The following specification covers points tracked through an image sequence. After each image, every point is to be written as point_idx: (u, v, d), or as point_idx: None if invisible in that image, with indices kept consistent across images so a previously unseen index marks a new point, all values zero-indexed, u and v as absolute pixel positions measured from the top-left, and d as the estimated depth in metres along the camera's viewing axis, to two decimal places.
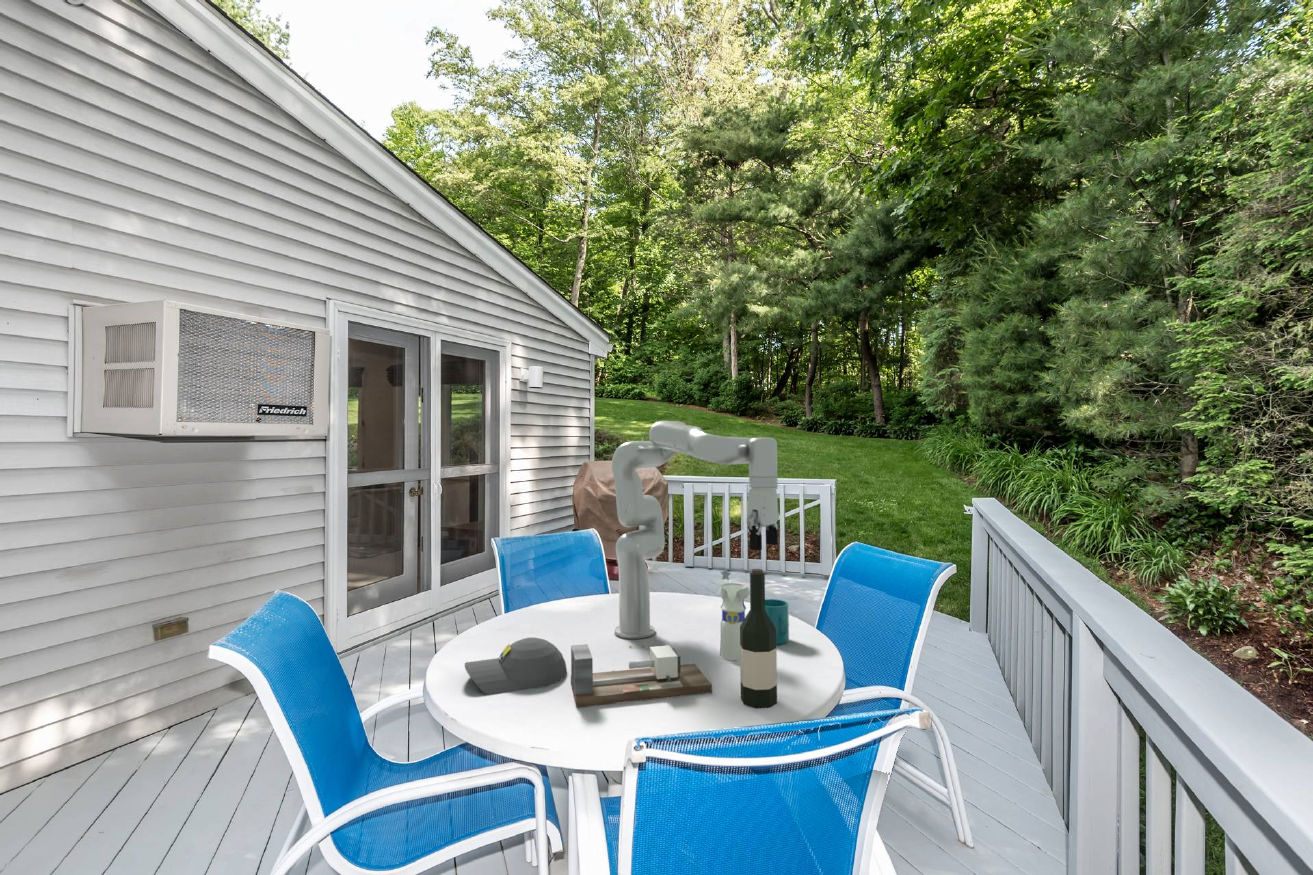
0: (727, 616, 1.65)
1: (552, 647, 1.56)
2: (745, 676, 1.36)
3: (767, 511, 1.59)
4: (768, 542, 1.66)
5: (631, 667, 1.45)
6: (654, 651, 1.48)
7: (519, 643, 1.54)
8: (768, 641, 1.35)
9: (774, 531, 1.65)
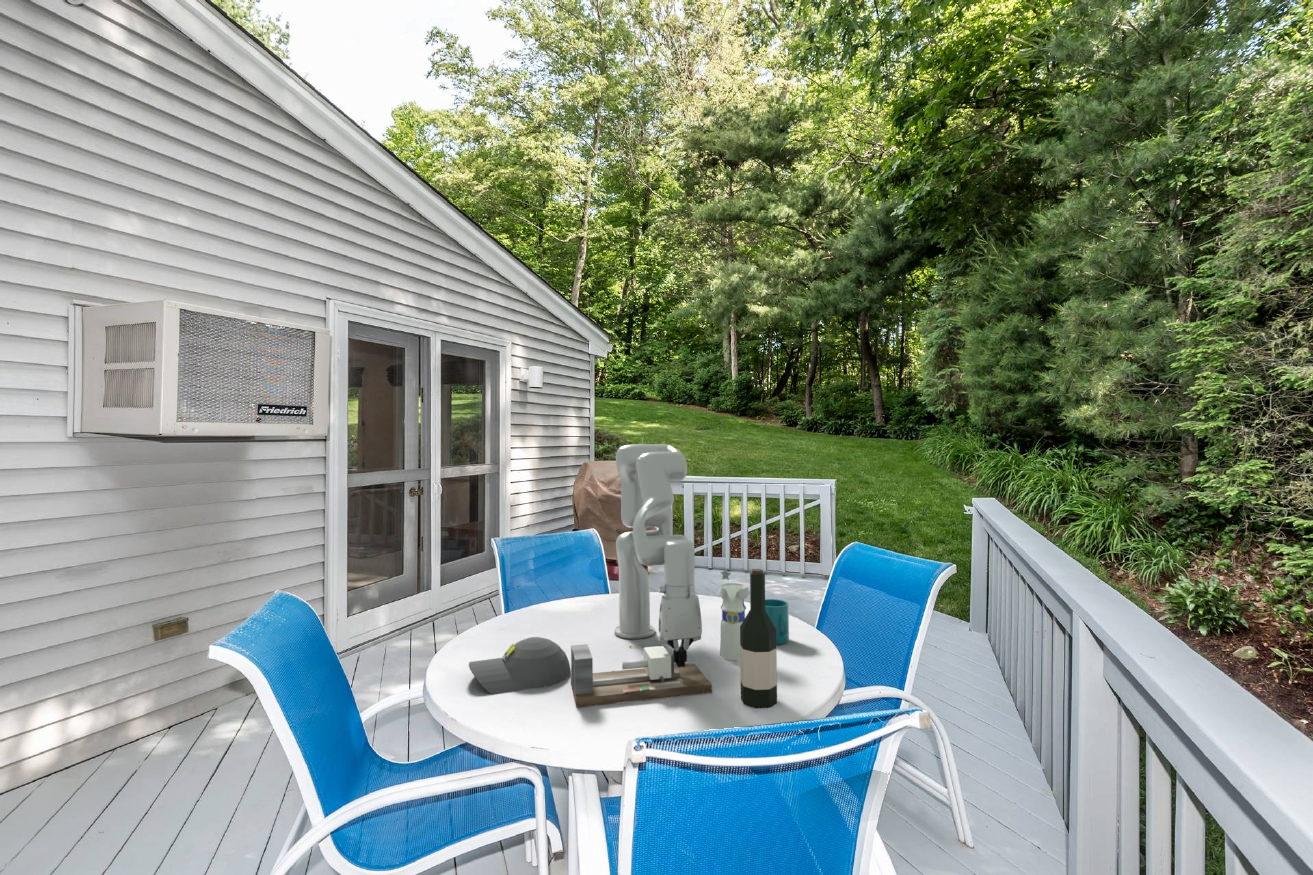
0: (727, 616, 1.65)
1: (556, 647, 1.56)
2: (745, 676, 1.36)
3: None
4: None
5: (624, 668, 1.45)
6: (648, 652, 1.48)
7: (523, 643, 1.54)
8: (768, 641, 1.35)
9: None
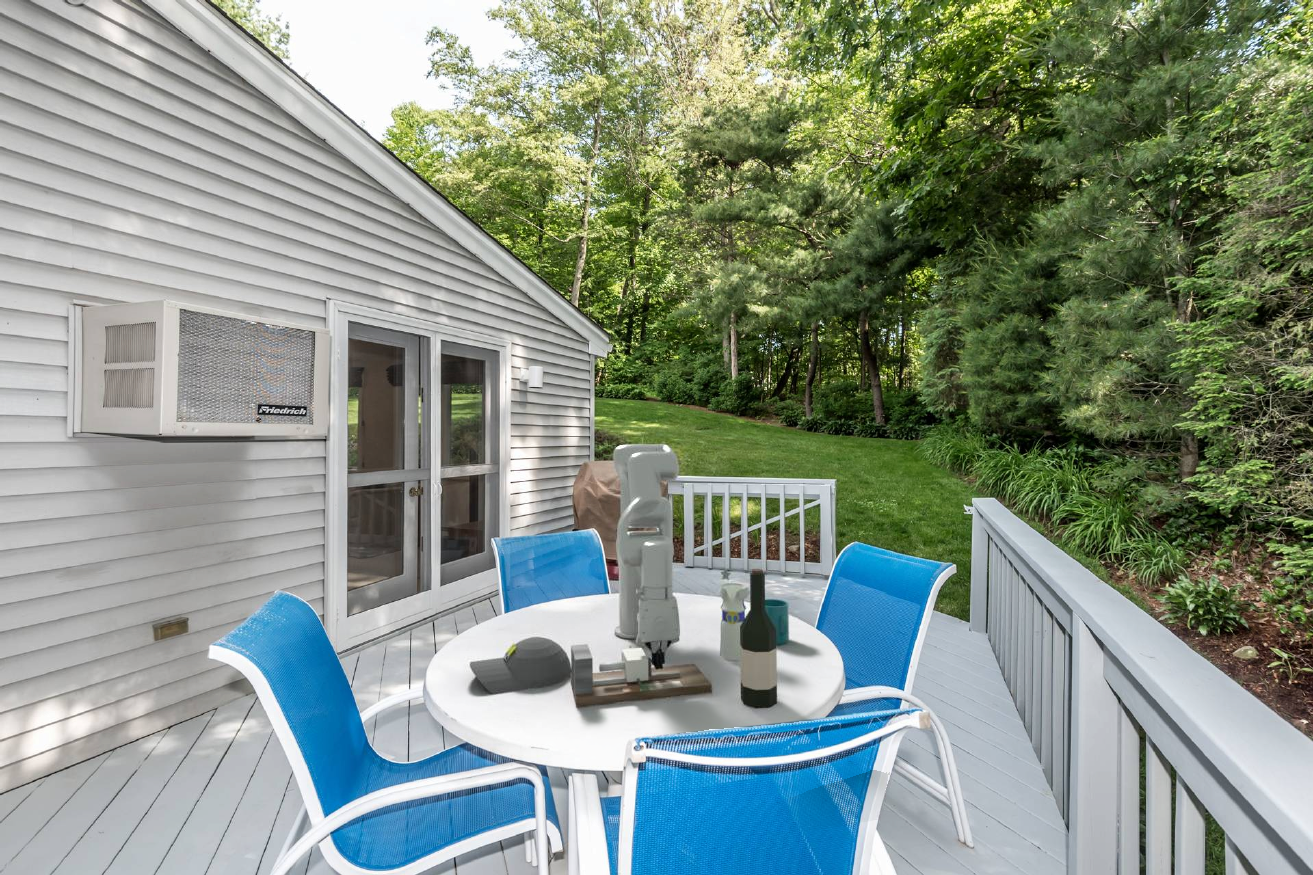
0: (727, 616, 1.65)
1: (557, 646, 1.56)
2: (745, 676, 1.36)
3: None
4: None
5: (601, 670, 1.44)
6: (625, 654, 1.46)
7: (524, 642, 1.55)
8: (768, 641, 1.35)
9: None
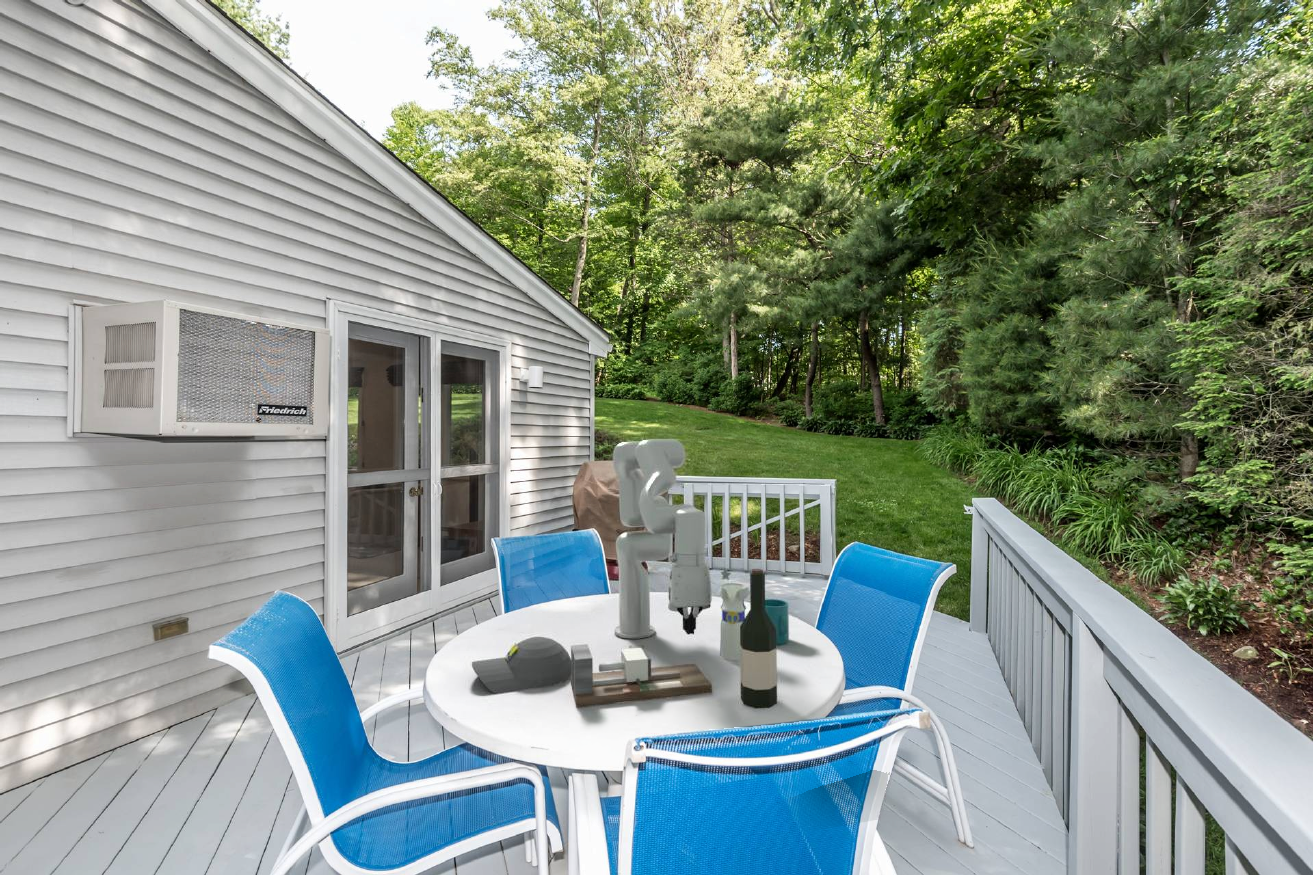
0: (727, 616, 1.65)
1: (559, 646, 1.56)
2: (745, 676, 1.36)
3: None
4: None
5: (601, 670, 1.44)
6: (625, 654, 1.46)
7: (526, 642, 1.55)
8: (768, 641, 1.35)
9: None
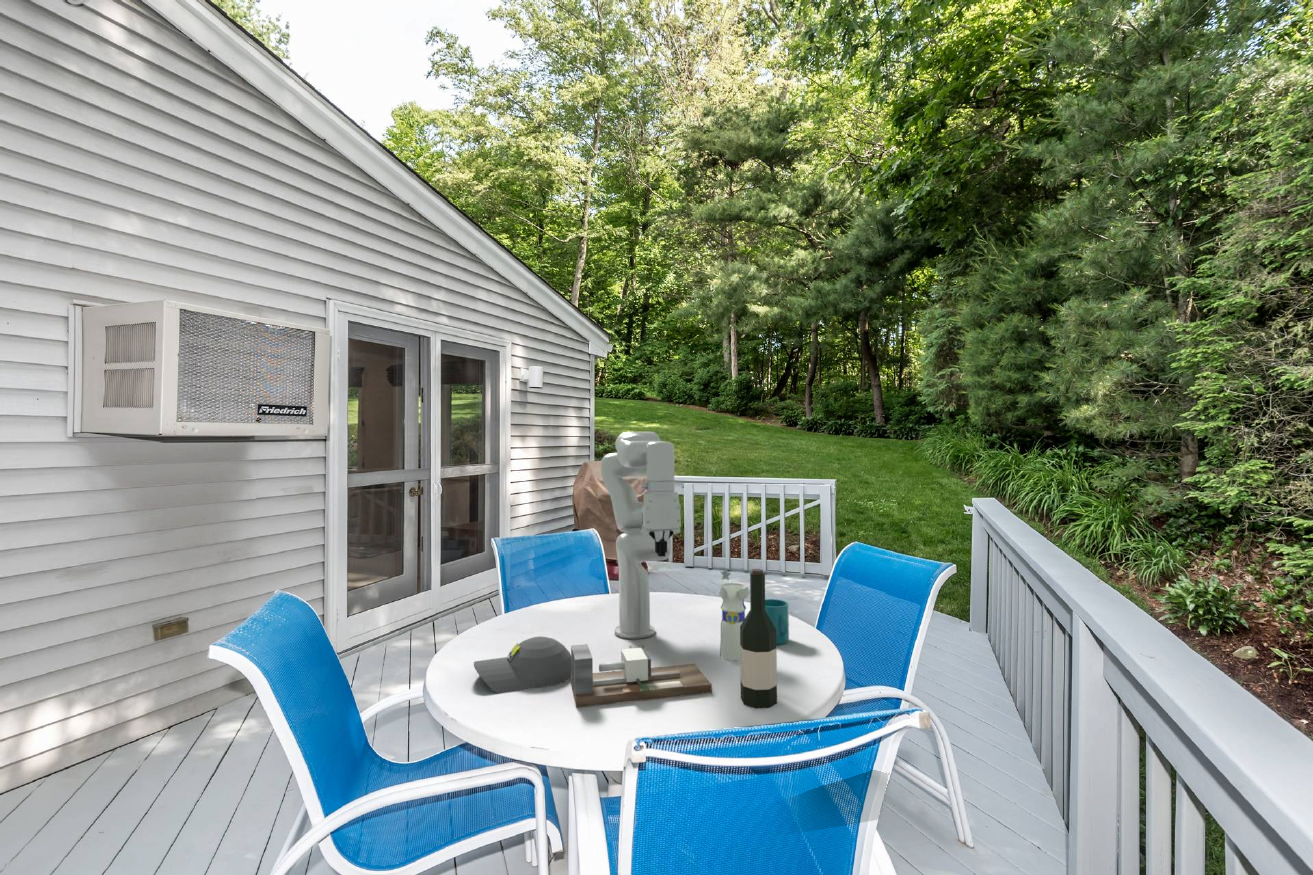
0: (727, 616, 1.65)
1: (560, 646, 1.57)
2: (745, 676, 1.36)
3: None
4: None
5: (601, 670, 1.44)
6: (625, 654, 1.46)
7: (528, 642, 1.55)
8: (768, 641, 1.35)
9: None
